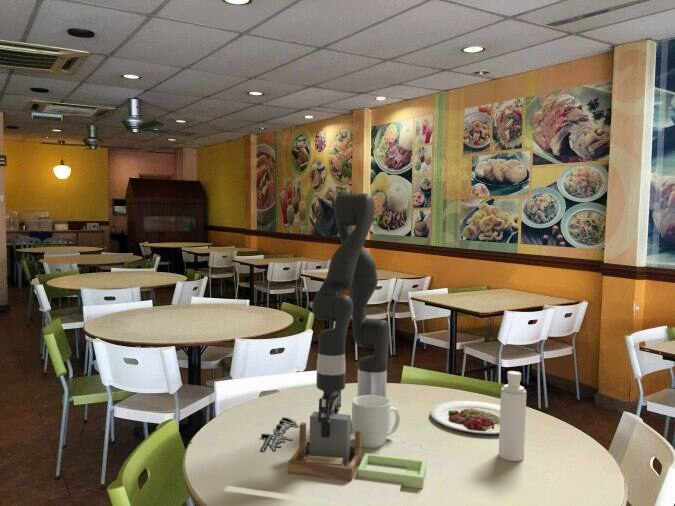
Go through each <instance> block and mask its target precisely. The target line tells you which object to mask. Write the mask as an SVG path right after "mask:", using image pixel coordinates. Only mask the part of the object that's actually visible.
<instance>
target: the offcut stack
mask: <svg viewBox="0 0 675 506" xmlns="http://www.w3.org/2000/svg"><path fill="white" fill-rule="evenodd" d="M305 462H313V463H321V464H329V465H337V466H344V464H343V458H336V457H323V456H310V455H308V457H307V459H306V461H305Z"/></svg>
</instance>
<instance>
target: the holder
mask: <svg viewBox="0 0 675 506" xmlns="http://www.w3.org/2000/svg"><path fill="white" fill-rule="evenodd" d="M369 463H372V464H381V465H388V466H398V467H405V471H404V472H398V471H389V470H382V469H373V468H367V467H368V464H369ZM426 473H427V460H425V459H418V458H410V457H409V458H408V457H400V456H391V455H383V454H374V453H367V452H366V453H364V456H363V457H362V460H361V463H360V465H359V466H358V468H357V477H358V478H367V479H376V480H382V481H389V482H397V483H401V485H400V486H401V487H406V488H414V489H421V490H423V489H424V484H425V480H426V475H427V474H426Z"/></svg>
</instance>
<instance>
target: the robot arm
mask: <svg viewBox="0 0 675 506" xmlns="http://www.w3.org/2000/svg"><path fill="white" fill-rule="evenodd" d="M333 204H334V207H333V209H334V210H333V211H334V218H335V222H336V226H337V230H338V233H339V234H338V235H339V238H340V243H341V244H340V246H339V247H338V248H337V249H336V250H335V251H334V253H333V255H332V257H331V260H330V261H329V266H328V270H327V273H326V278H325V279H324V281H323V282H322V285H321V286H320V287H319V290H318V291H317V293H316V295H315V296H314V298H313V302H312V305H311V310H312V311H311V312H312V315H313V316H314V318H315V319H317V320H319V321H326V322H328V321H329V322H336V324H335V327H334V328H328V329H323V330H320V332H319V333H318V344H317V345H318V351H317V353H318V354H317V360H316V383H315V384H316V388H317V389H318V390H320V391H322V392H323V393H322V395H321V397H320V398H319V400H318V412H319V416H318V422H320V423H321V437H324V438H329V436H330V422H331V416H332V415H333V414H334V413H335V414H339V412H340V408H341V407H342V391H343V390H344V389H345V388H346V367H347V365H346V364H347V362H346V338H347V332H348V328H349V326H350V325H349V324H350V321H352V322H351V323H352V335H353V339H354V342H355V345H356V346H358V347H361V348H369V349H370V348H371V349H374V353H373V354H371V355H368V356H365V357H361V358H359V359H358V362H357V394H356V395H357V396H356V397H358V396H363V395H376V396H382V397H385V398H387V378H388V372H387V371H388V360H389V359H388V358H389V345H390V334H391V333H390V325H389V322H388V321H387V320H386V319H379V318H369V317H367V315H366V307H367V304H368V303H369V301H370V299H371V298H372V296H373V294H374V292H375V290H376V289H377V287H378V280H379V279H378V274H377V266H376V262H375V259H374V258H373V257H372V255H371V254H370V253H369V251H368V250H367V248H365V247H364V244H365V242H366V240H367V236H368V234H369V232H370V229H371V227H372V225H373V224H372V223H373V222H374V217H375V213H376V204H375V200H374V198H373V196H372V195H371V194H370V193H363V192H362V193H361V192H360V193H340V194H337V195H336V197H335V199H334V203H333ZM353 226H355V227H353ZM345 291H348V293H349V295H346V294H340V293H341V292H345ZM338 293H339V294H338ZM325 414H326V418H324V415H325Z"/></svg>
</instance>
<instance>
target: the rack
mask: <svg viewBox="0 0 675 506" xmlns="http://www.w3.org/2000/svg"><path fill="white" fill-rule="evenodd" d="M298 434H299V437H298V440H299V443H298V444H299V446H298V449H297V450H296V451H295V453H294V454H293V455H292V456H291V457H290V459H289V460H288V474H292V475H299V476H307V477H315V478H323V479H330V480H337V481H345V482H352V481H353V479H354V477H355V474H356V472H357V471H358V468H359V466H360V464H361V462H362V460H363V452H364V451H363V447H364V446H361V429H358V428H357V429H356V431H355V436H354V445H350V460H349V462H348V464H347V466H337V465H329V464H321V463H313V462H305V461H306V459H307V457H308V455H309V445H310V440H307V422H301V423H300V424H299V433H298Z"/></svg>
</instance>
